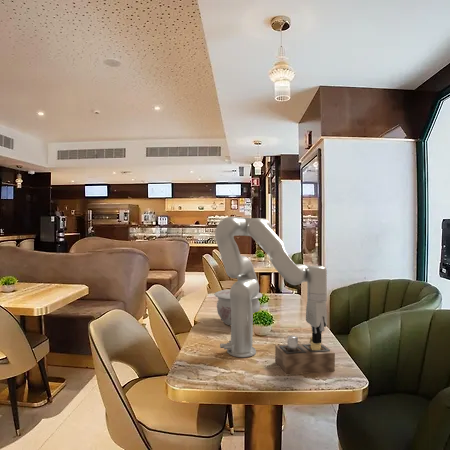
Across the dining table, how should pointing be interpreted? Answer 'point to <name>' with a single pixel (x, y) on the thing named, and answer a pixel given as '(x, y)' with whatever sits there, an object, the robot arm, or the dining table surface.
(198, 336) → the dining table surface
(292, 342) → the steel plunger
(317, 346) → the brass plunger
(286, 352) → the walnut block
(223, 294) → the chamber pot
